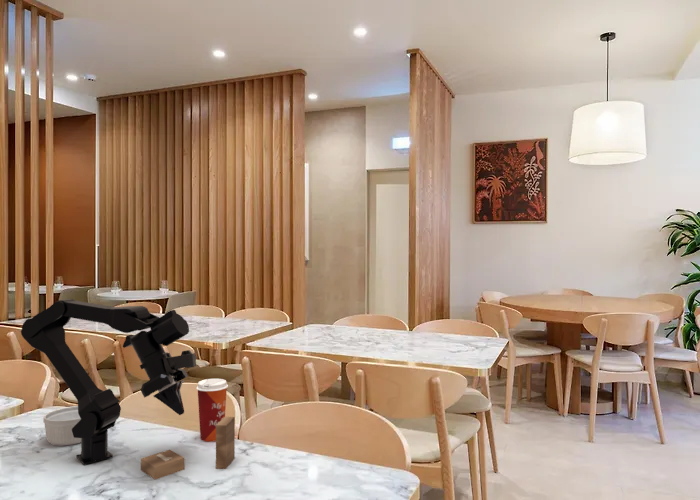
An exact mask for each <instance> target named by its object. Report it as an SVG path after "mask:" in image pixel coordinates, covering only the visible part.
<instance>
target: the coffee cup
mask: <svg viewBox="0 0 700 500" xmlns="http://www.w3.org/2000/svg"><path fill="white" fill-rule="evenodd" d="M228 387H229V385H228V383H227V380H226V379H223V378H206V379H203V380H199V381H198V383H197V386H196V390H197V398H198V399H197V401H198V402H197V403H198V404H197V405H198V419H199V420H198V421H199V435H200V440H201V441H202V442H205V443H206V442H207V443H209V442H211V443H213V442H216V425H217V424H218V423H219V422H220V421H221V420H222V419H223V418H224V417H226V406H227V388H228Z"/></svg>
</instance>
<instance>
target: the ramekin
mask: <svg viewBox="0 0 700 500" xmlns="http://www.w3.org/2000/svg"><path fill="white" fill-rule="evenodd" d="M80 420H81V418H80V416H79V414H78V405H73V406H67V407H62V408H59V409H55V410H51V411H49V412H47V413H46V414H44V416H43V423H44V430H45V436H46V437H45V438H46V440H47V442H49V444H50V445H53V446H71V445H77V444H81V438H74V436H73V433H72V428H73V427H74V426H75V425H76V424H77V423H78V422H79V421H80Z"/></svg>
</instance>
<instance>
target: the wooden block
mask: <svg viewBox="0 0 700 500" xmlns="http://www.w3.org/2000/svg"><path fill="white" fill-rule="evenodd" d="M235 423H236V419H235V416H225V417H224V418H223V419H222V420H221V421H220V422H219V423H218V424H217V425H216V441H215V469H217V470H227V469H228V468H229V466H231V464H232V463H233V462H234V460H235V458H236V457H235V455H236V452H235V447H236V444H235V439H236V437H235V436H236V435H235V433H236V432H235V431H236V429H235V427H236V425H235Z"/></svg>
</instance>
